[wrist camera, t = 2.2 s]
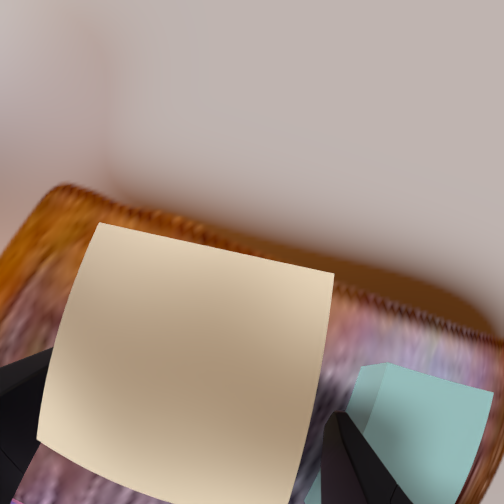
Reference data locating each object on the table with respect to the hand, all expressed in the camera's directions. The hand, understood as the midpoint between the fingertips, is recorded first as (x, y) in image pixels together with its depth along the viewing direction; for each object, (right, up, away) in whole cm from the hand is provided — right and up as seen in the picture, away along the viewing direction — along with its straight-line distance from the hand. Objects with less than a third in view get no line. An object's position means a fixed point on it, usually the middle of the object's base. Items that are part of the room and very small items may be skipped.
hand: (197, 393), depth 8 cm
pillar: (0, -3, +8) cm, 8 cm away
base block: (+12, -9, +6) cm, 16 cm away
